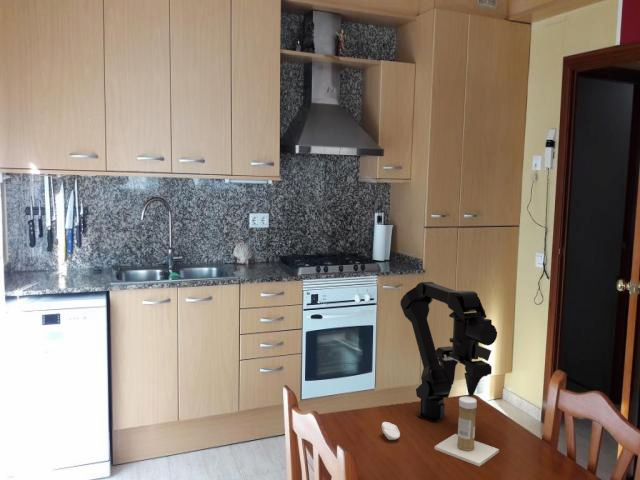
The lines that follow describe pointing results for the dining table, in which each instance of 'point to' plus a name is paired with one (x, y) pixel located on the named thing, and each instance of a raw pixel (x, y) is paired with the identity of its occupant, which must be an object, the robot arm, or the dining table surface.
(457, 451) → the ceramic tile
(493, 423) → the dining table surface
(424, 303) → the robot arm
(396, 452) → the dining table surface
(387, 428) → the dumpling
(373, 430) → the dining table surface
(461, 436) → the sprinkles bottle
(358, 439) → the dining table surface
